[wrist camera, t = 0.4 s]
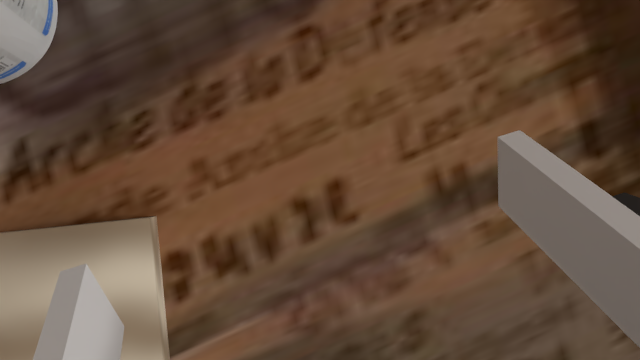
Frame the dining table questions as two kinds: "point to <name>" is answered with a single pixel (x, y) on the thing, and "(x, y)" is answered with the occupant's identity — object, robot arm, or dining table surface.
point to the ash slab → (107, 267)
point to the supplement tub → (24, 34)
